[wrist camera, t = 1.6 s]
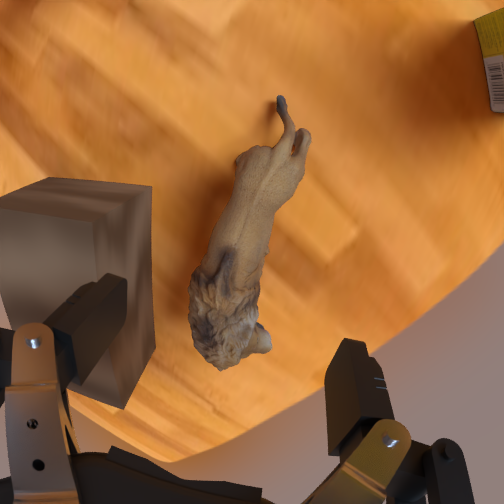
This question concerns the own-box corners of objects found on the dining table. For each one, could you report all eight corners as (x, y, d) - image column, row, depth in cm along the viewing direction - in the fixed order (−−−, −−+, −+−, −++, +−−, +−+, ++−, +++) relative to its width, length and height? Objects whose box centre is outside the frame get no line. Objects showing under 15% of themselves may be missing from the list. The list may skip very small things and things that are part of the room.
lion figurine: (273, 303, 24) (264, 392, 16) (205, 288, 24) (168, 370, 16) (320, 104, 18) (344, 94, 10) (236, 88, 18) (197, 68, 10)
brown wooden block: (50, 176, 22) (-18, 205, 15) (153, 185, 22) (92, 222, 14) (70, 321, 28) (28, 370, 21) (156, 346, 28) (123, 409, 21)
